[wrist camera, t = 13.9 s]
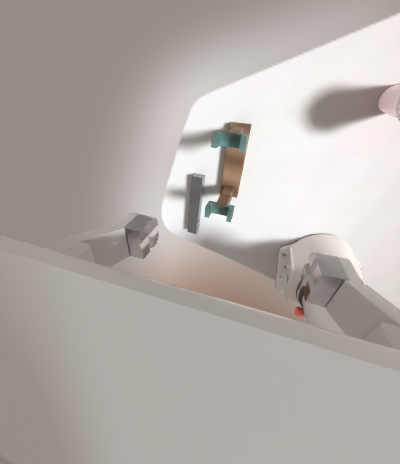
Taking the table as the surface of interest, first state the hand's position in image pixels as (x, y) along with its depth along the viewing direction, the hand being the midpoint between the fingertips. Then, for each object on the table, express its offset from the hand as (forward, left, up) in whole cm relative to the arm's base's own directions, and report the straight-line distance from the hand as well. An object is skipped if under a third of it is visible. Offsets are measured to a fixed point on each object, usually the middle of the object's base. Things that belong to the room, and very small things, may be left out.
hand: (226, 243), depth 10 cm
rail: (-17, +12, -36) cm, 41 cm away
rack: (-5, +4, -36) cm, 36 cm away
